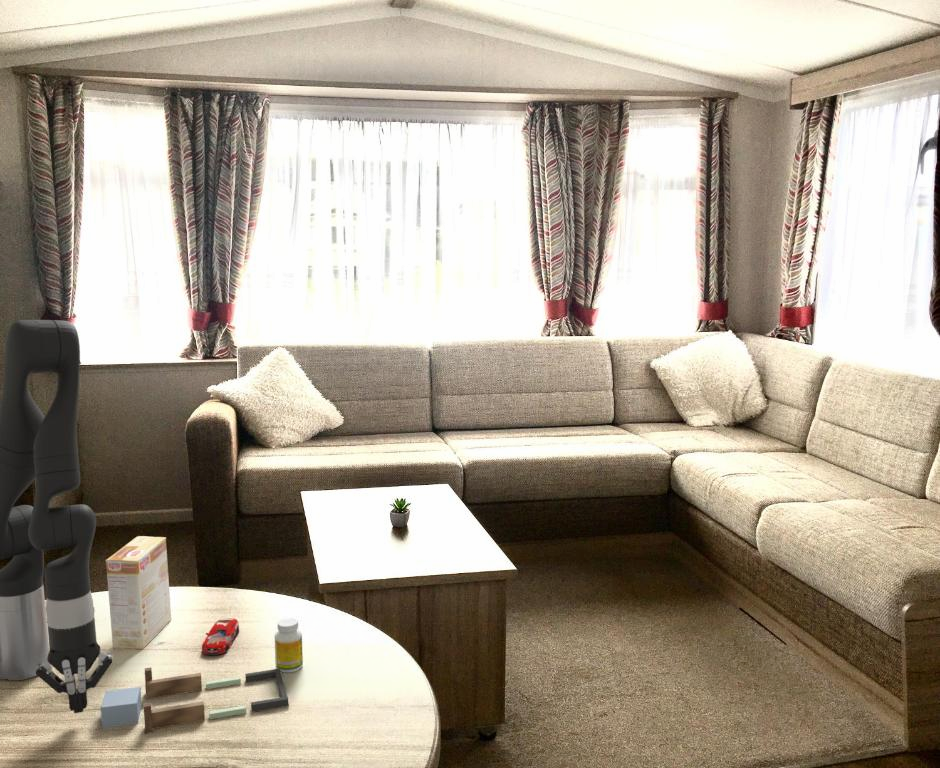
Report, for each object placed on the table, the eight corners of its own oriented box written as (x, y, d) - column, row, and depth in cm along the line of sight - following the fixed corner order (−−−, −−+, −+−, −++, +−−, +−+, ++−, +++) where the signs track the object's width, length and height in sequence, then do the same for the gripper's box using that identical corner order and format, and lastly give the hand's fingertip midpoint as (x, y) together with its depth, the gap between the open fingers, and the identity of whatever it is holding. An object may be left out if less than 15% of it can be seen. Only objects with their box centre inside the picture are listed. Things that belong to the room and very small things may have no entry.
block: (102, 728, 159) (100, 707, 159) (106, 711, 165) (105, 690, 164) (138, 724, 161) (136, 703, 160) (141, 706, 167) (140, 686, 166)
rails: (209, 719, 162) (209, 714, 162) (206, 686, 173) (205, 681, 173) (246, 713, 164) (246, 708, 164) (240, 681, 175) (240, 676, 175)
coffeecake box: (142, 618, 204) (136, 535, 201) (172, 619, 204) (167, 536, 200) (110, 648, 189) (104, 559, 186) (143, 649, 189) (137, 560, 186)
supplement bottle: (272, 664, 182) (271, 619, 181) (298, 658, 185) (297, 614, 183) (279, 675, 178) (277, 629, 176) (306, 670, 180) (304, 624, 178)
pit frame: (251, 712, 164) (251, 705, 164) (245, 680, 176) (245, 673, 175) (288, 706, 166) (288, 698, 166) (280, 675, 178) (279, 668, 178)
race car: (224, 658, 186) (223, 640, 185) (198, 658, 186) (197, 639, 185) (243, 630, 199) (242, 613, 198) (219, 629, 199) (218, 612, 198)
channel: (145, 733, 157) (143, 706, 156) (146, 693, 171) (144, 668, 170) (205, 723, 160) (203, 697, 160) (201, 684, 174) (200, 660, 173)
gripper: (26, 632, 152) (35, 728, 154) (110, 620, 156) (118, 714, 159) (31, 615, 159) (40, 707, 161) (112, 604, 163) (119, 694, 166)
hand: (79, 710), depth 160 cm, fingers closed
